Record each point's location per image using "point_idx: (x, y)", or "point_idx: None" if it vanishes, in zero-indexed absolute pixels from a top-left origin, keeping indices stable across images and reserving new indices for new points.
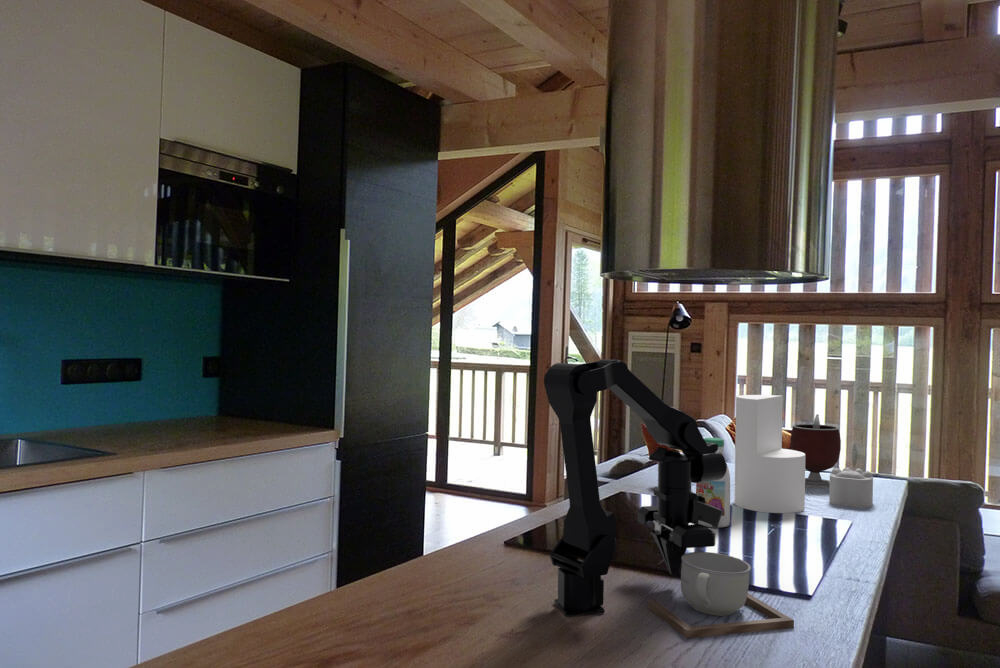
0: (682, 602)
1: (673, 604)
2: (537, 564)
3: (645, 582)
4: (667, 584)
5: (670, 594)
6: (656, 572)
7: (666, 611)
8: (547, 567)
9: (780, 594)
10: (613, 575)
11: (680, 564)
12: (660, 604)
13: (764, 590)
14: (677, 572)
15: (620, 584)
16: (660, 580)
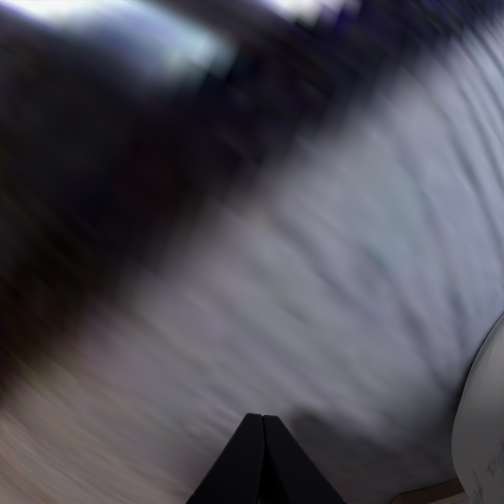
0: (426, 427)
1: (417, 454)
2: (16, 494)
3: (165, 441)
4: (218, 388)
5: (342, 435)
6: (42, 317)
7: (465, 494)
8: (31, 498)
9: (495, 9)
10: (76, 461)
11: (312, 462)
12: (433, 502)
13: (457, 6)
14: (282, 425)
15: (169, 497)
16: (151, 380)
